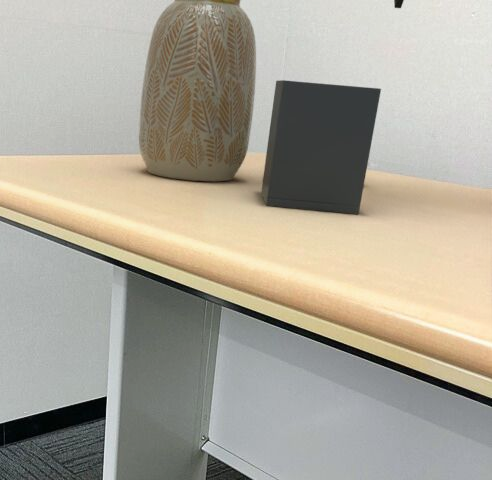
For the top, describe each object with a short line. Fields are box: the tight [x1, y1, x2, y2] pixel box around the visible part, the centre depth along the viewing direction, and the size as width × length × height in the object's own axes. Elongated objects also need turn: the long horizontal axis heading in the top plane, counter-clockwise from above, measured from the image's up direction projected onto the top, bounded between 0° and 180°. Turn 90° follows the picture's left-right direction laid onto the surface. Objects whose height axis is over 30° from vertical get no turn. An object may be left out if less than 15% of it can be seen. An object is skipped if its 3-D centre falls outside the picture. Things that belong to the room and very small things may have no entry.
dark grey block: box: [260, 79, 382, 215], centre depth 98 cm, size 12×12×15 cm
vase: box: [138, 0, 257, 183], centre depth 114 cm, size 17×17×27 cm
